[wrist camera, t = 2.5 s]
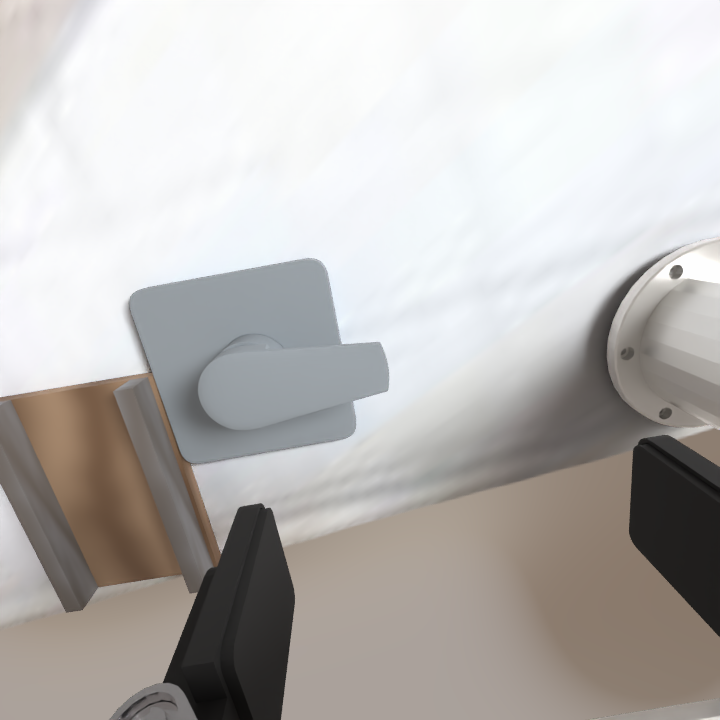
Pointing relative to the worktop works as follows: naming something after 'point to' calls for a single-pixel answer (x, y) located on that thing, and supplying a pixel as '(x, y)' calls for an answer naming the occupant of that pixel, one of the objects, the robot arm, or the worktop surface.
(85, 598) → the stand
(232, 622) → the robot arm
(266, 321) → the shower valve
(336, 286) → the worktop surface
